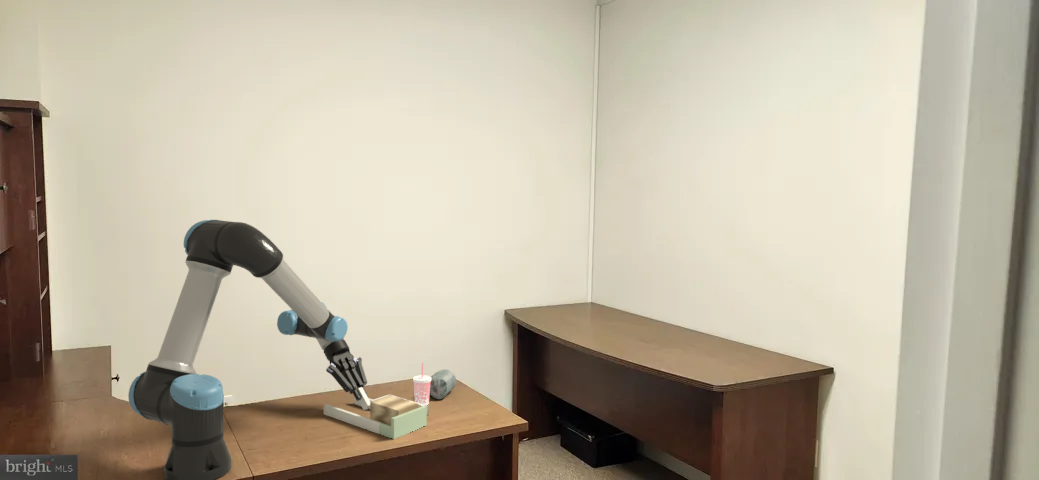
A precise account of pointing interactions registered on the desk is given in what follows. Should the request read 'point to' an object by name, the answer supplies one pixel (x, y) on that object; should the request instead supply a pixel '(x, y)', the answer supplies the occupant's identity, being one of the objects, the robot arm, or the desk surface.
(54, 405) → the desk surface
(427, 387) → the beverage cup
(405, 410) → the maple block
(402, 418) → the tray
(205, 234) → the robot arm
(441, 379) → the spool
